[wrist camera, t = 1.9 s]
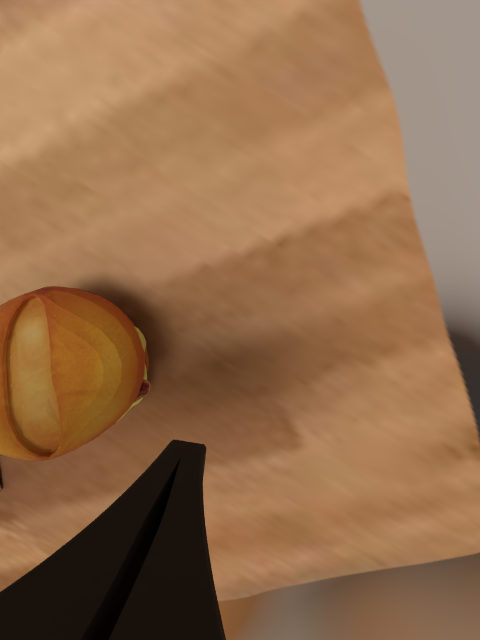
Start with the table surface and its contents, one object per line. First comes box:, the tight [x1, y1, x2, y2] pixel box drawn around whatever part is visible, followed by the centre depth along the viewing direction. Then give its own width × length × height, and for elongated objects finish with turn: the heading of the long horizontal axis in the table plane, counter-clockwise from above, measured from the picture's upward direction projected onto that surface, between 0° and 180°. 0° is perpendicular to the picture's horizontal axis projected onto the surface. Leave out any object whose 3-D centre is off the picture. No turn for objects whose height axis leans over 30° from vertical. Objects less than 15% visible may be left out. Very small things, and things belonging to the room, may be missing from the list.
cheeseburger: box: [0, 286, 151, 460], centre depth 16 cm, size 10×11×10 cm
